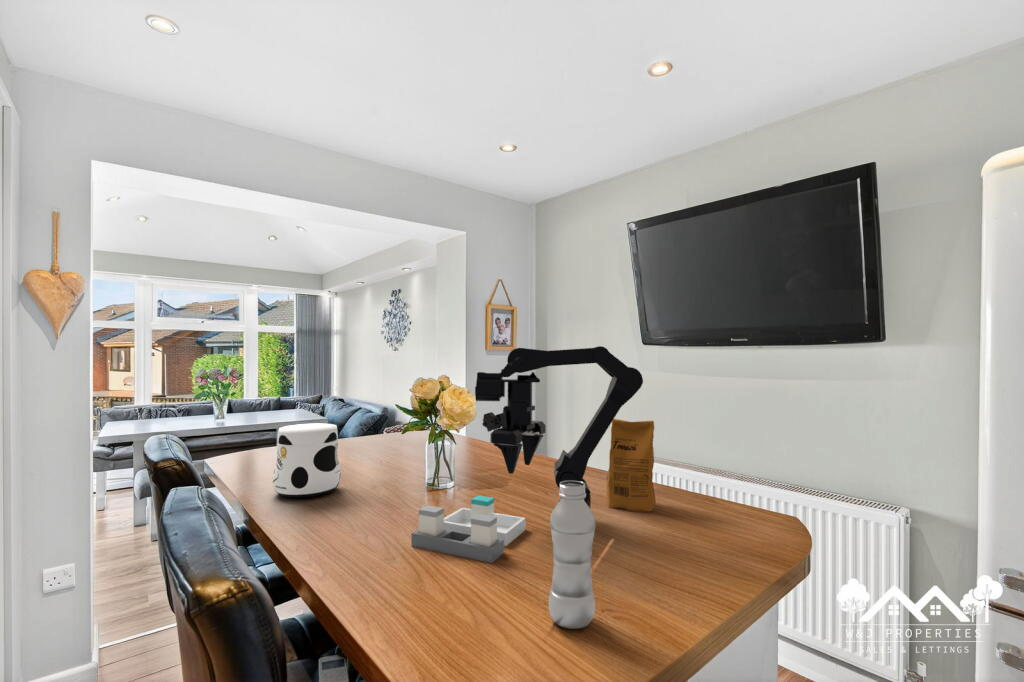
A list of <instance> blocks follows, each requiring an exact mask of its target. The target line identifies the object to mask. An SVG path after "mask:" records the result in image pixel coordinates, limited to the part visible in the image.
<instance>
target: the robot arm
mask: <svg viewBox="0 0 1024 682" xmlns="http://www.w3.org/2000/svg"><path fill="white" fill-rule="evenodd" d="M585 364H587V365H588V364H597V365H598V366H599V367H600V368H601V369H602V370H603V371H604V372H605V373H606V374H607V375H608V376H610V377H611V380H610V382H609V385H608V387H607V390H606V394H605V397H604V399H603V401H602V402H601V404H600V405H599V407H598V408H597V410H596V411H595V413H594V415H593V417H592V418H591V420H590V422H589V423H588V425H587V427H586V428H585V429H584V431H583V433H582V434H581V436H580V438H579V439H578V441H577V442H576V444H575V446H574V447H573V448H572V449H570V451H568V452H567V451H566V450H565V449H562V451H561V453H560V456H559V458H558V459H557V461H555V462H553V463H554V464H553V465H554V469H553V470H554V471H553V474H554V480H555V484H556V487H557V488H558V489H559V490H560V482H562V481H580V482H583V483H585V493H586V498H584V501H585V502H586V504H587V505H588V506H589V508H590V509H591V507H592V506H591V490H590V488H589V485H588V483H587V481H586V479H584V475H585V473H586V469H587V466H588V462H589V460H590V458H591V456H592V454H593V452H594V451H595V450H596V448H597V446H598V444H599V443H600V442H601V440H602V438H603V437H604V435H605V433H606V431H607V430H608V429H609V427H610V425H612V421H613V419H615V417H616V416H617V414H618V413H619V411H620V409H621V408H622V407H623V406H624V405H625V404H626V403H627V402H629V401H630V400H631V399H632V398H633V397H634V396H635V395H636V394H637V393H638V391H639V390H640V389H641V388H642V385H643V383H644V378H643V375H642V373H641V372H640V370H638V369H637V368H635V367H631V366H628V365H626V364H625V363H624V362H622V360H620V359H619V358H617V356H615V355H613V354H612V352H610V351H609V349H607V347H605V346H595V347H588V348H586V347H585V348H584V347H583V348H573V349H572V348H571V349H558V350H557V349H555V350H543V349H542V350H541V349H532V348H525V347H516V348H514V349H512V350H511V351H510V352H509V354H508V356H507V364H506V365H505V366H504V367H503V368H502V369H501V370H500V372H484V371H478V372H477V373H476V383H475V387H474V394H475V395H474V397H475V398H474V399H475V402H501V399H502V398H505V397H506V396H505V395H506V383H507V405H504V407H503V408H502V412H501V413H498V414H495V413H493V412H492V411H491V412H487V413H485V414H483V417H482V421H483V422H482V424H481V425H482V427H484V428H486V430H487V432H488V433H489V432H491V433H490V434H489V435H490V443H491V444H493V446H494V447H497V448H498V449H499V450H500V452H501V453H502V457H503V458H504V462H505V466H506V469H507V472H508V474H510V475H511V474H515V473H514V472H515V470H516V466H517V464H518V461H519V457H520V454H521V450H523V451H522V452H523V461H524V465H526V466H530V464H531V463H532V460H533V457H534V456H535V453H536V451H537V449H538V446H539V445H540V443H541V441H542V438H543V437H544V434H546V428H547V426H546V423H544V422H543V421H542V420H533V411H536V405H534V404H533V383H540V382H541V379H540V378H539V377H538V376H537V375H536V374H535V370H540V369H543V368H548V367H554V366H555V367H556V366H570V365H572V366H573V365H585ZM526 372H531V373H530V374H524V373H526ZM516 373H518V374H517V378H512V379H510V378H509V377H511V376H512V375H514V374H516ZM521 373H523V374H521ZM504 378H505V379H504ZM506 378H507V379H506ZM508 378H509V379H508ZM559 502H560V500H558V503H559Z"/></svg>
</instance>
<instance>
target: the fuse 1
mask: <svg viewBox="0 0 1024 682" xmlns="http://www.w3.org/2000/svg"><path fill="white" fill-rule="evenodd" d="M444 518H445V508H444V507H439V506H433V505H428V504H427V505H425V506H423V507H421V508H419V509H418V529H419V533H422V534H427V535H432V536H437V535H439V534H441V533H442V532H444Z"/></svg>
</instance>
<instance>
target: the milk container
mask: <svg viewBox="0 0 1024 682" xmlns="http://www.w3.org/2000/svg"><path fill="white" fill-rule="evenodd" d="M338 434H339V432H338V426H337V424H333V423H320V422H319V423H301V424H292V425H285V426H282V427H279V428H278V431H277V436H276V437H277V438H276V439H277V440H276V442H277V443H276V463H275V467H274V471H273V473H272V474H273V475H272V484H273V490H274V491H275V492H276V493H277V494H278V495H280V496H283V497H288V498H309V497H316V496H319V495H324V494H328V493H329V492H332V491H333V490H335V489H336V488H338V486H339V485H340V482H341V476H342V470H341V464H340V461H339V455H338V452H339V451H338V447H339V440H338V438H339V435H338Z"/></svg>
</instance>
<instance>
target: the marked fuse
mask: <svg viewBox="0 0 1024 682" xmlns="http://www.w3.org/2000/svg"><path fill="white" fill-rule="evenodd" d="M470 504H471V505H470V509H471V518H473V517H474V516H476V515H478V514H483V515H489V516H494V513H495V497H490V496H485V495H476V496H475V497H472V498H471V499H470Z"/></svg>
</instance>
